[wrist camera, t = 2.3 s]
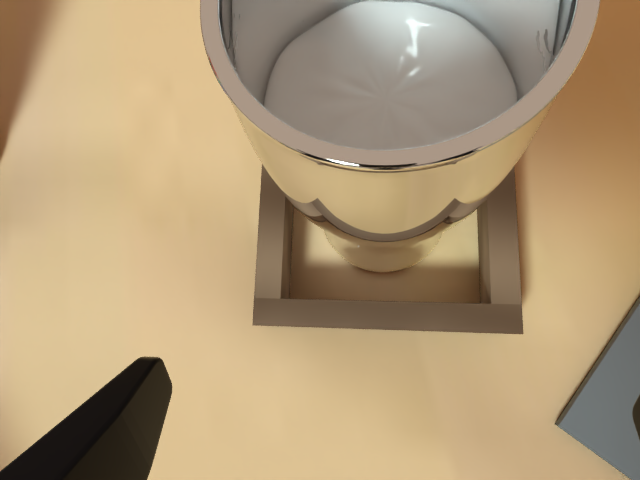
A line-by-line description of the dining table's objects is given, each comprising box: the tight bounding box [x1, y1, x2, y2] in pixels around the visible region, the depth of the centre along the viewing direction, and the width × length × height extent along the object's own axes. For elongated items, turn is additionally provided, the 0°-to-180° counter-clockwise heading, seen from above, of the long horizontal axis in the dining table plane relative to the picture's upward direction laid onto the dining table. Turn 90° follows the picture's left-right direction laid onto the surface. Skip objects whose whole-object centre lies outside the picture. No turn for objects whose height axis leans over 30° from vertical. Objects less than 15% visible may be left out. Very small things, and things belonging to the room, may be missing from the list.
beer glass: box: [200, 0, 600, 272], centre depth 15 cm, size 7×7×15 cm
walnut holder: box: [253, 164, 523, 334], centre depth 21 cm, size 11×11×2 cm
